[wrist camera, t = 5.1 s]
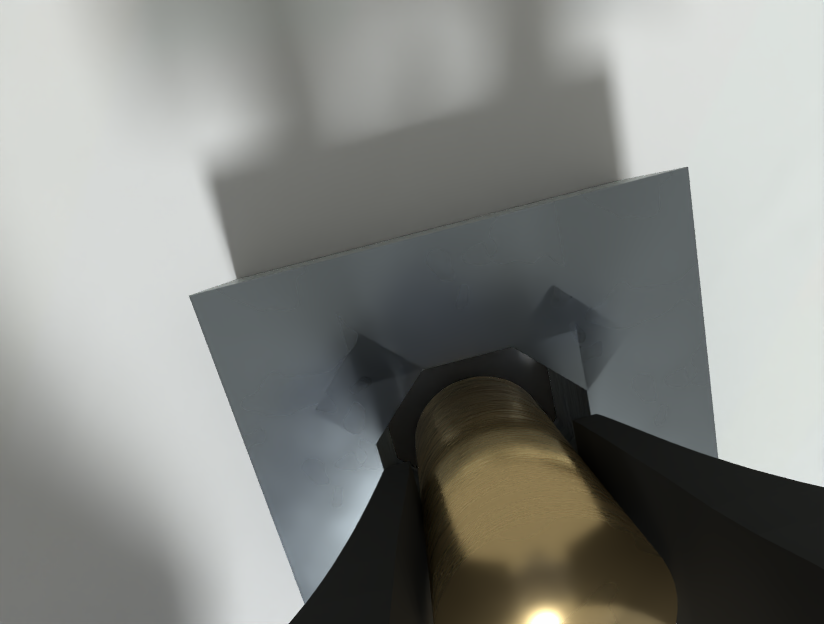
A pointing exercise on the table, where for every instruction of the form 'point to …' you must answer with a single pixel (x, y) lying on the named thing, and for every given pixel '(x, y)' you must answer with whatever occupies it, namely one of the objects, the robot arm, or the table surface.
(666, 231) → the plate
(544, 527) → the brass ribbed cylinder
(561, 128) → the table surface
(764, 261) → the table surface
